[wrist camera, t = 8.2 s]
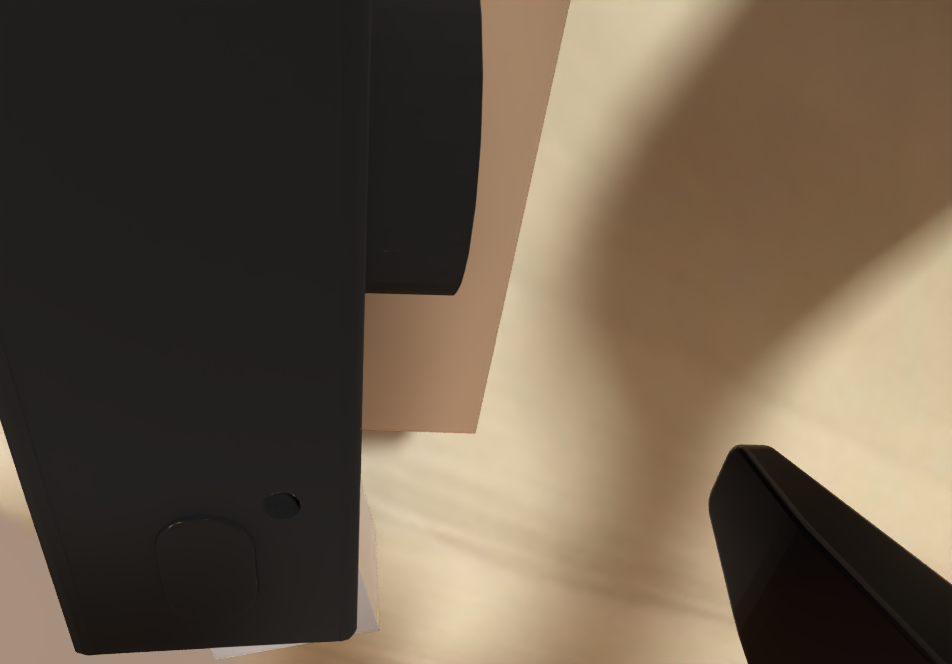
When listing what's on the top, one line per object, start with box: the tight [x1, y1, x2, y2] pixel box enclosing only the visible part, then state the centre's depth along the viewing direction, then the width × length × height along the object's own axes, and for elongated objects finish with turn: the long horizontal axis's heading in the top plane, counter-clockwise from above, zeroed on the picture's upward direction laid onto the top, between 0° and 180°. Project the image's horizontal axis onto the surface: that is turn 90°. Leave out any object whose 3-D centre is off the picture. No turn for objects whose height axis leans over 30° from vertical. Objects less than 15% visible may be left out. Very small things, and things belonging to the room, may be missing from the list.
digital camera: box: [0, 0, 483, 655], centre depth 13 cm, size 10×5×7 cm, turn 175°
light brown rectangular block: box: [362, 0, 570, 434], centre depth 18 cm, size 8×12×4 cm, turn 171°
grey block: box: [209, 482, 379, 660], centre depth 25 cm, size 5×5×4 cm
